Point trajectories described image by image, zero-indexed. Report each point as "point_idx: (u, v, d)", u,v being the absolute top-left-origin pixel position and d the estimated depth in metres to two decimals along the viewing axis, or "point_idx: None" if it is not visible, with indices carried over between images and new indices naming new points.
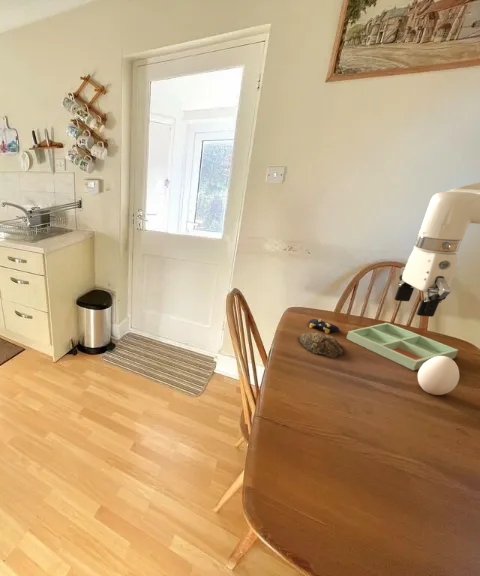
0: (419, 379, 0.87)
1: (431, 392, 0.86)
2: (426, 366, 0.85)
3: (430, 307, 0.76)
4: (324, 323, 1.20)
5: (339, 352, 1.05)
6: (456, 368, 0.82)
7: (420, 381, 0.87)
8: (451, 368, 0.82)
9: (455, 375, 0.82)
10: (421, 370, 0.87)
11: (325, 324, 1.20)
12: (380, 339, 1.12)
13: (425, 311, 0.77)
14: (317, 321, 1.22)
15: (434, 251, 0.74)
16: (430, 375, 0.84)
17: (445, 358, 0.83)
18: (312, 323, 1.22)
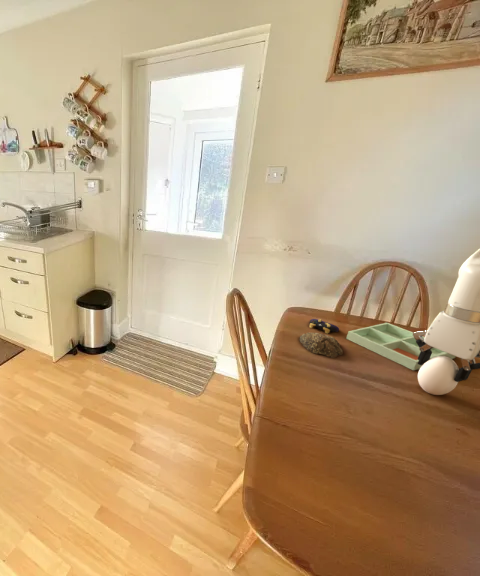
0: (419, 379, 0.87)
1: (431, 392, 0.86)
2: (426, 366, 0.85)
3: (468, 373, 0.80)
4: (324, 323, 1.20)
5: (339, 352, 1.05)
6: (456, 368, 0.82)
7: (420, 381, 0.87)
8: (451, 368, 0.82)
9: (455, 375, 0.82)
10: (421, 370, 0.87)
11: (325, 324, 1.20)
12: (380, 339, 1.12)
13: (464, 378, 0.80)
14: (317, 321, 1.22)
15: (478, 323, 0.76)
16: (430, 375, 0.84)
17: (445, 358, 0.83)
18: (312, 323, 1.22)
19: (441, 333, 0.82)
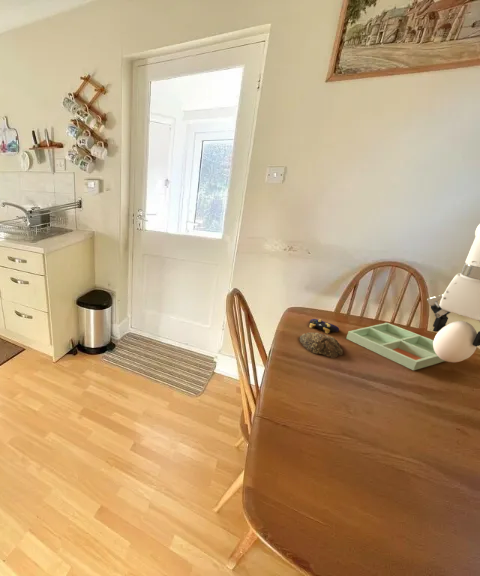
0: (435, 346, 0.83)
1: (448, 359, 0.82)
2: (442, 332, 0.82)
3: None
4: (324, 323, 1.20)
5: (339, 352, 1.05)
6: (475, 332, 0.78)
7: (436, 348, 0.83)
8: (469, 333, 0.78)
9: (474, 339, 0.78)
10: (437, 337, 0.83)
11: (325, 324, 1.20)
12: (380, 339, 1.12)
13: None
14: (317, 321, 1.22)
15: None
16: (447, 341, 0.80)
17: (463, 323, 0.79)
18: (312, 323, 1.22)
19: (458, 296, 0.78)
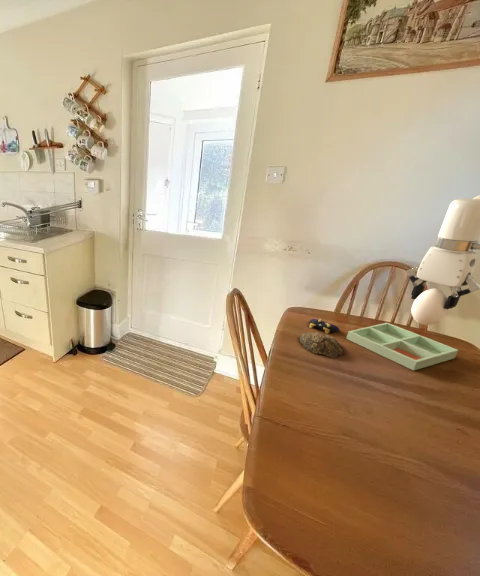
0: (413, 311, 0.95)
1: (423, 322, 0.94)
2: (419, 299, 0.94)
3: (456, 300, 0.88)
4: (324, 323, 1.20)
5: (339, 352, 1.05)
6: (446, 297, 0.90)
7: (413, 313, 0.95)
8: (441, 298, 0.90)
9: None
10: (414, 303, 0.95)
11: (325, 324, 1.20)
12: (380, 339, 1.12)
13: (453, 305, 0.88)
14: (317, 321, 1.22)
15: (464, 252, 0.84)
16: (423, 306, 0.92)
17: (436, 289, 0.91)
18: (312, 323, 1.22)
19: (432, 266, 0.90)
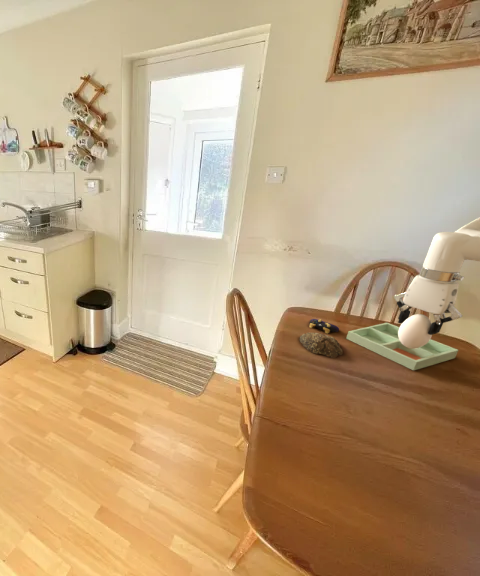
0: (399, 335, 1.01)
1: (409, 346, 0.99)
2: (405, 323, 0.99)
3: (439, 327, 0.93)
4: (324, 323, 1.20)
5: (339, 352, 1.05)
6: (430, 323, 0.95)
7: (400, 337, 1.00)
8: (425, 323, 0.95)
9: None
10: (401, 327, 1.00)
11: (325, 324, 1.20)
12: (380, 339, 1.12)
13: (436, 331, 0.93)
14: (317, 321, 1.22)
15: (446, 282, 0.89)
16: (408, 331, 0.97)
17: (421, 315, 0.96)
18: (312, 323, 1.22)
19: (417, 293, 0.95)
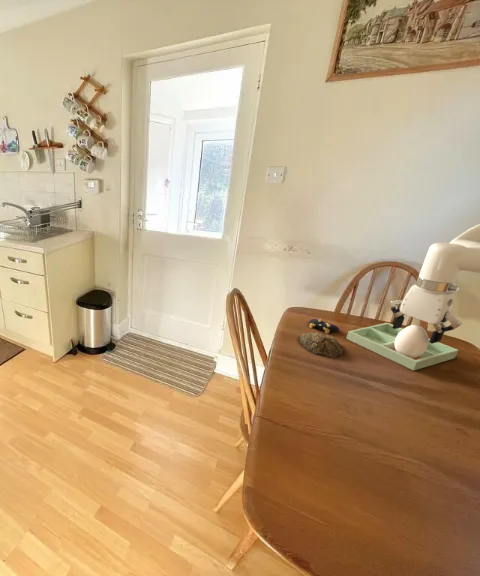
0: (395, 345, 1.02)
1: None
2: (401, 334, 1.00)
3: (440, 336, 0.93)
4: (324, 323, 1.20)
5: (339, 352, 1.05)
6: (425, 334, 0.96)
7: (396, 347, 1.02)
8: (421, 334, 0.96)
9: (425, 340, 0.96)
10: (397, 337, 1.01)
11: (325, 324, 1.20)
12: (380, 339, 1.12)
13: (437, 340, 0.93)
14: (317, 321, 1.22)
15: (442, 292, 0.90)
16: (404, 341, 0.99)
17: (417, 326, 0.98)
18: (312, 323, 1.22)
19: (413, 303, 0.96)
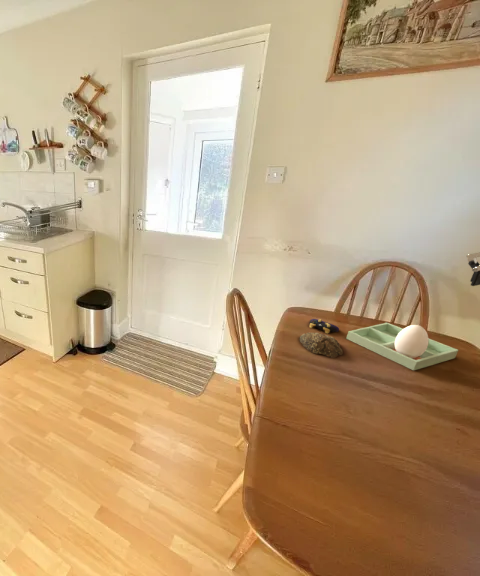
0: (395, 345, 1.02)
1: None
2: (401, 334, 1.00)
3: None
4: (324, 323, 1.20)
5: (339, 352, 1.05)
6: (426, 334, 0.96)
7: (396, 347, 1.02)
8: (421, 334, 0.96)
9: (425, 340, 0.96)
10: (397, 337, 1.01)
11: (325, 324, 1.20)
12: (380, 339, 1.12)
13: None
14: (317, 321, 1.22)
15: None
16: (404, 341, 0.99)
17: (417, 326, 0.98)
18: (312, 323, 1.22)
19: None
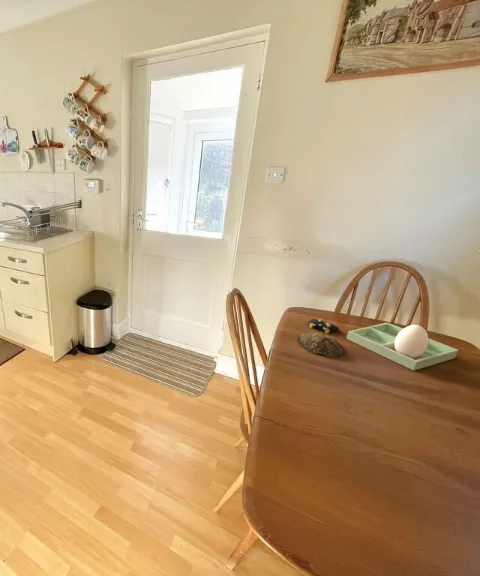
0: (395, 345, 1.02)
1: None
2: (401, 334, 1.00)
3: None
4: (324, 323, 1.20)
5: (339, 352, 1.05)
6: (425, 334, 0.96)
7: (396, 347, 1.02)
8: (421, 334, 0.96)
9: (425, 340, 0.96)
10: (397, 337, 1.01)
11: (325, 324, 1.20)
12: (380, 339, 1.12)
13: None
14: (317, 321, 1.22)
15: None
16: (404, 341, 0.99)
17: (417, 326, 0.98)
18: (312, 323, 1.22)
19: None
